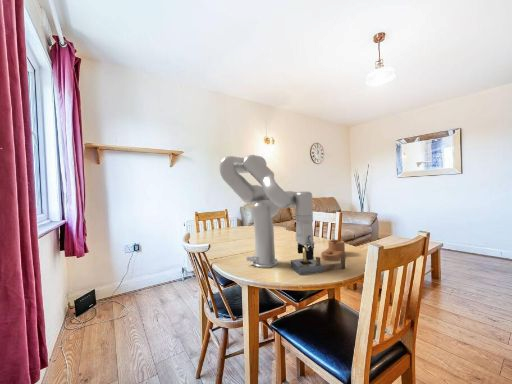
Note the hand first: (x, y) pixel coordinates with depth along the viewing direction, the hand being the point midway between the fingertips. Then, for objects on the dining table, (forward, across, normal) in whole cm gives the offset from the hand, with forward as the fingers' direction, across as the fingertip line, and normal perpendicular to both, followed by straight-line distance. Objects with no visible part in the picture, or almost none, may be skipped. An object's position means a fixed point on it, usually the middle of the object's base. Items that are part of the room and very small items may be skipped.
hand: (305, 256), depth 106 cm
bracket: (+6, -14, +22) cm, 26 cm away
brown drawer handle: (+6, +4, +10) cm, 12 cm away
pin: (+6, 0, 0) cm, 6 cm away
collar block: (+6, 0, 0) cm, 6 cm away
